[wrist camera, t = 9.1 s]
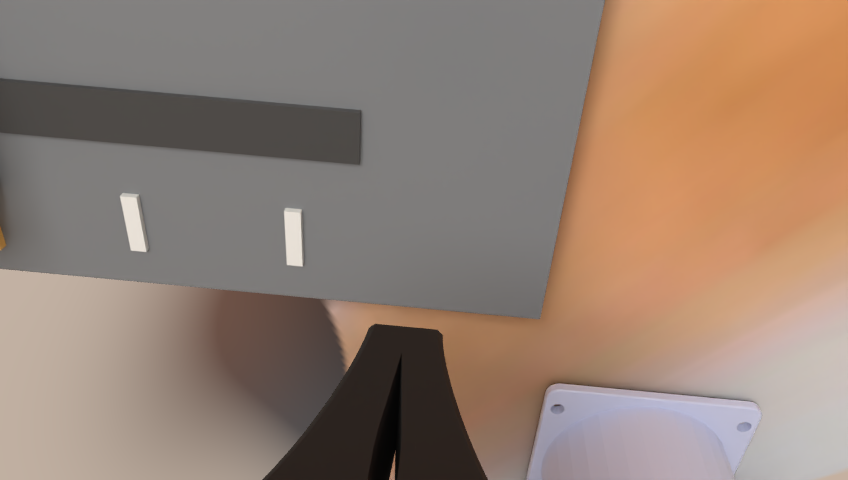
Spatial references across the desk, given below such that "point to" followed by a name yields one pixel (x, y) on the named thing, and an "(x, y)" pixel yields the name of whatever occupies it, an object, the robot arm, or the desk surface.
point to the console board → (295, 144)
